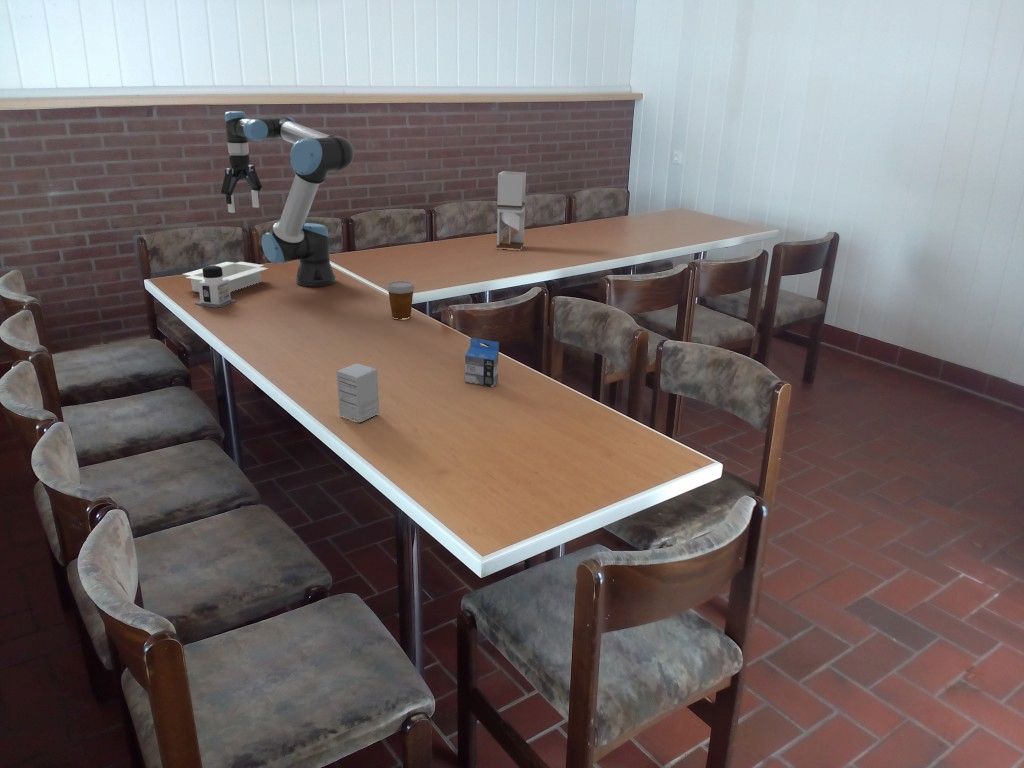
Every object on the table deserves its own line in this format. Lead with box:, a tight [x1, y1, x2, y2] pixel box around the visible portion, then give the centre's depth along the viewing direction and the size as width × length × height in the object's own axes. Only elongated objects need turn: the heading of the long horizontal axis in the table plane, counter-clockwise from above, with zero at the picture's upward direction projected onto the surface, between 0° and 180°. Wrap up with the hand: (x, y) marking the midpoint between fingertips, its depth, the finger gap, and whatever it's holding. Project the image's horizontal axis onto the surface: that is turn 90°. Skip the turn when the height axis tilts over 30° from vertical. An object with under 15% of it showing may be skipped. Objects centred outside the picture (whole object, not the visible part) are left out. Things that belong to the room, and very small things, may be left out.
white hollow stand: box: [496, 170, 527, 250], centre depth 386 cm, size 11×11×35 cm
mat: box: [194, 298, 237, 309], centre depth 296 cm, size 10×10×1 cm
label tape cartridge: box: [464, 337, 500, 388], centre depth 229 cm, size 9×4×12 cm, turn 69°
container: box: [198, 264, 232, 305], centre depth 293 cm, size 8×8×13 cm
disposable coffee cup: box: [386, 280, 415, 319], centre depth 283 cm, size 10×10×12 cm
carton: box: [182, 261, 269, 293], centre depth 315 cm, size 21×29×6 cm
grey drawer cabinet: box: [336, 363, 380, 422], centre depth 205 cm, size 7×7×13 cm
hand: (244, 209), depth 321 cm, fingers open, 13 cm apart
